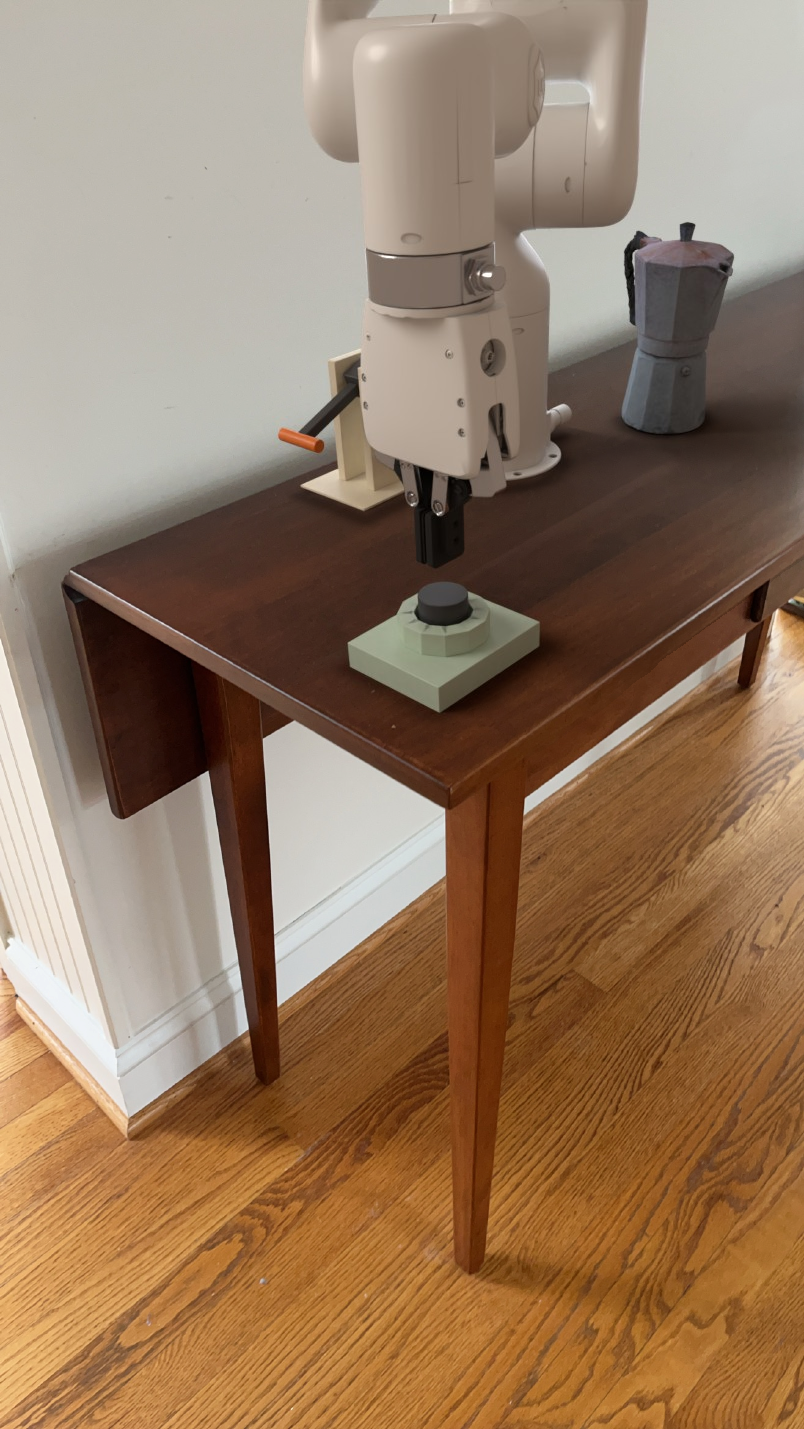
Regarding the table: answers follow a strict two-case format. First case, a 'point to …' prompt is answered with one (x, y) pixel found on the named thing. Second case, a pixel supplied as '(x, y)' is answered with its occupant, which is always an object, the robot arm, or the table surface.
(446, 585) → the socket button
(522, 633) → the socket block
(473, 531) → the table surface
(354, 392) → the orange grip lever
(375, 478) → the pivot handle stand
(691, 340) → the moka pot
